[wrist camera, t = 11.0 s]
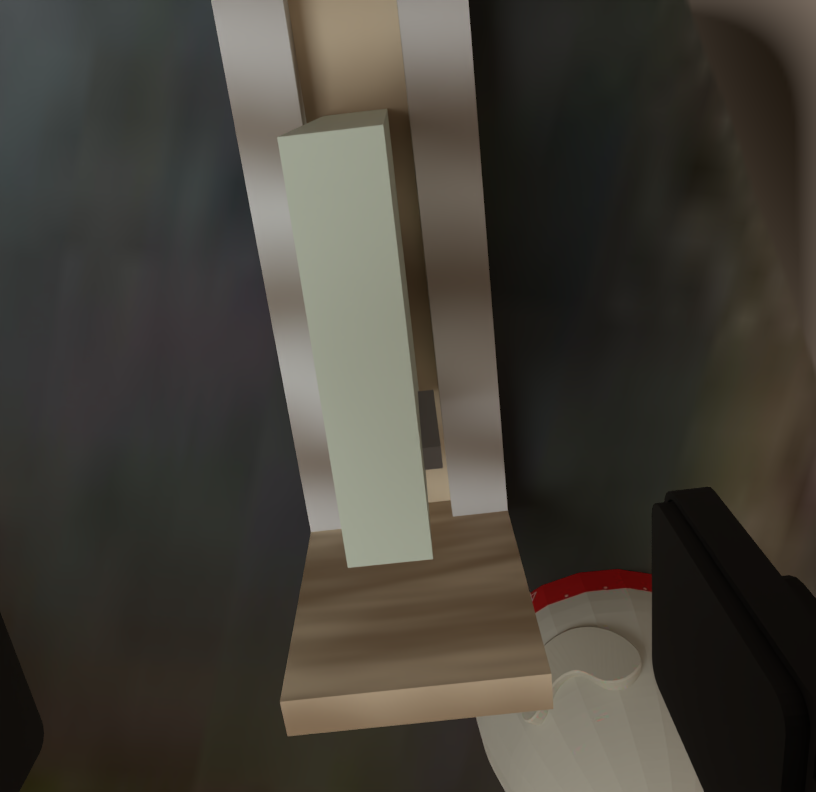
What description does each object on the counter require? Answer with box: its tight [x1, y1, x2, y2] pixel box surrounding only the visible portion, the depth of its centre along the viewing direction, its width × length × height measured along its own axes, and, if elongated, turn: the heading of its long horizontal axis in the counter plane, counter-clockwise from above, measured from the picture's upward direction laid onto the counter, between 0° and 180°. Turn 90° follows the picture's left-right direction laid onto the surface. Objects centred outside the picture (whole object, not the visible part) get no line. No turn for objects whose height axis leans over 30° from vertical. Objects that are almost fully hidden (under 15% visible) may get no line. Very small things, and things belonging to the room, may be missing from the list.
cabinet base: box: [211, 0, 553, 736], centre depth 27 cm, size 26×9×13 cm, turn 7°
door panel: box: [277, 109, 443, 568], centre depth 26 cm, size 12×3×13 cm, turn 6°
